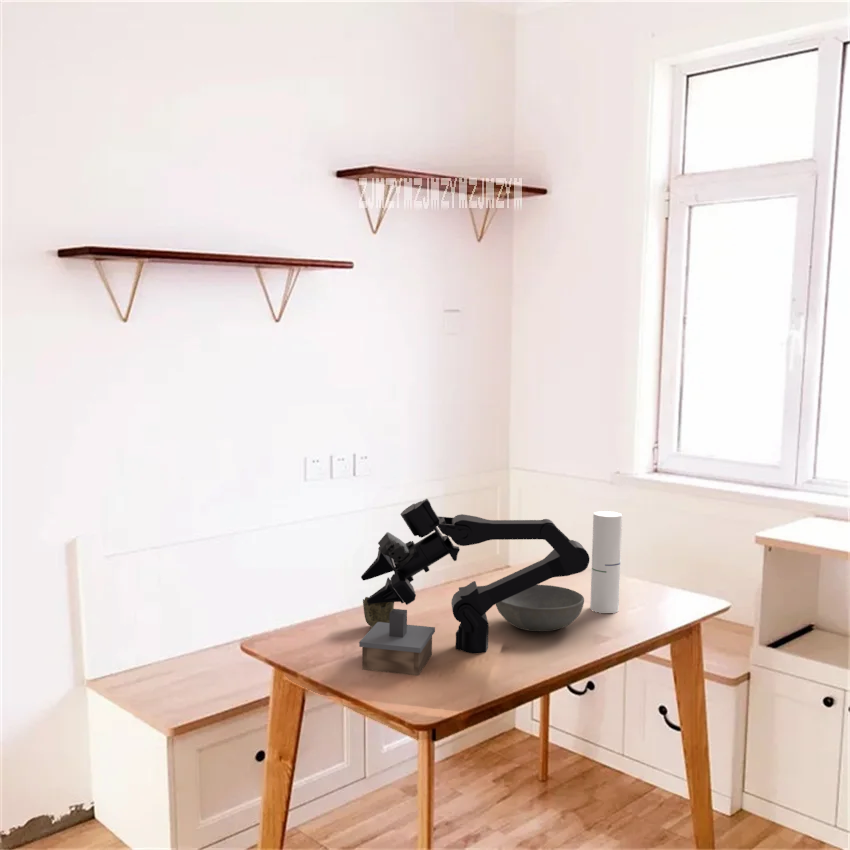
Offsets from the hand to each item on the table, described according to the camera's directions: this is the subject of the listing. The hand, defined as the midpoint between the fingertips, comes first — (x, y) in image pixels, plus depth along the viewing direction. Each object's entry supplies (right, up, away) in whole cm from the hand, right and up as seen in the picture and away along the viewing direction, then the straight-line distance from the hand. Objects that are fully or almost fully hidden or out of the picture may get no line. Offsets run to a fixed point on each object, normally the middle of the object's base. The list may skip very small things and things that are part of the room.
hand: (364, 590), depth 194 cm
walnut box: (+7, -15, -6) cm, 18 cm away
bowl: (+40, -13, +20) cm, 47 cm away
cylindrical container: (+59, -11, +33) cm, 69 cm away
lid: (+7, -9, -7) cm, 14 cm away
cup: (+2, -13, +14) cm, 19 cm away
